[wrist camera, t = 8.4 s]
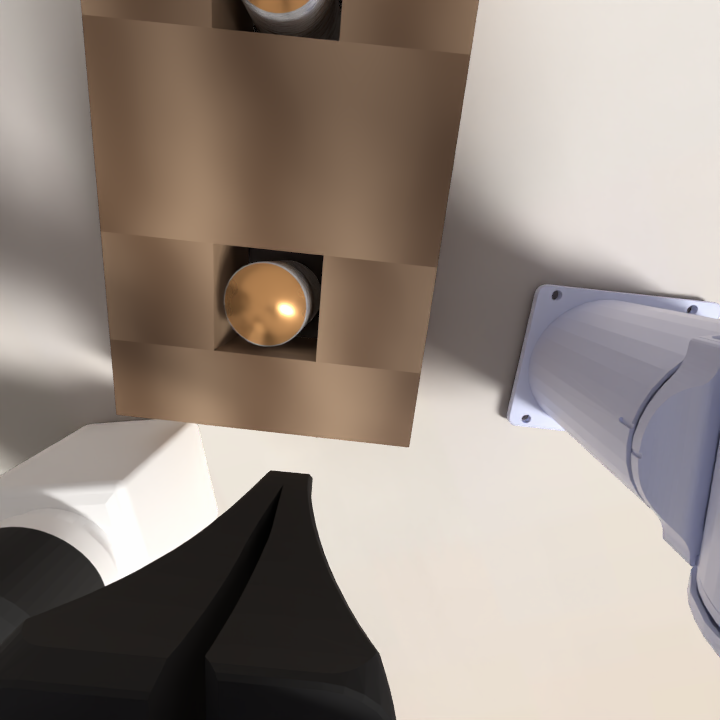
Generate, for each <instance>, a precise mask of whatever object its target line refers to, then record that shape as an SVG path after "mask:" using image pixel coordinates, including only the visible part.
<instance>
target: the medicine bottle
mask: <svg viewBox="0 0 720 720" xmlns="http://www.w3.org/2000/svg"><path fill="white" fill-rule="evenodd" d="M217 515H218V507H217V503H216V499H215V495H214V490H213V486H212V482H211V477H210V473H209V469H208V465H207V460H206V456H205V452H204V447H203V443H202V439H201V435H200V430H199V426H198V424H195V423H186V422H177V421H169V420H160V419H151V420H137V421H124V422H110V423H97V424H88V425H85V426H84V427H82V428H80V429H79V430H77V431H75V432H73V433H72V434H70V435H68V436H67V437H65V438H63V439H62V440H60V441H58V442H56V443H55V444H53V445H51V446H50V447H48V448H46V449H45V450H43V451H41V452H40V453H38V454H36V455H34V456H33V457H31V458H29V459H28V460H26V461H24V462H23V463H21V464H19V465H17V466H16V467H14V468H12V469H11V470H9V471H7V472H6V473H4V474H2V475H1V476H0V644H1V643H2V642H3V641H4V640H5V639H6V638H7V637H8V636H9V635H10V634H11V633H12V632H13V631H14V630H15V629H16V628H17V627H18V626H19V625H20V624H21V623H22V622H23V621H24V620H26V619H27V618H30V617H33V616H35V615H38V614H40V613H43V612H45V611H48V610H50V609H53V608H55V607H58V606H60V605H63V604H65V603H68V602H70V601H73V600H75V599H78V598H80V597H82V596H85V595H87V594H89V593H92V592H94V591H96V590H98V589H100V588H102V587H105V586H107V585H109V584H111V583H113V582H115V581H117V580H119V579H121V578H123V577H125V576H127V575H129V574H131V573H133V572H135V571H137V570H139V569H141V568H142V567H144V566H146V565H148V564H149V563H151V562H153V561H155V560H156V559H158V558H160V557H162V556H163V555H165V554H167V553H169V552H170V551H172V550H174V549H175V548H177V547H178V546H180V545H182V544H183V543H185V542H186V541H188V540H189V539H191V538H192V537H193V536H195V535H196V534H198V533H199V532H200V531H202V530H203V529H204V528H206V527H207V526H208V525H210V524H211V523H212V522H213V521H214V520H215V519H216V517H217Z"/></svg>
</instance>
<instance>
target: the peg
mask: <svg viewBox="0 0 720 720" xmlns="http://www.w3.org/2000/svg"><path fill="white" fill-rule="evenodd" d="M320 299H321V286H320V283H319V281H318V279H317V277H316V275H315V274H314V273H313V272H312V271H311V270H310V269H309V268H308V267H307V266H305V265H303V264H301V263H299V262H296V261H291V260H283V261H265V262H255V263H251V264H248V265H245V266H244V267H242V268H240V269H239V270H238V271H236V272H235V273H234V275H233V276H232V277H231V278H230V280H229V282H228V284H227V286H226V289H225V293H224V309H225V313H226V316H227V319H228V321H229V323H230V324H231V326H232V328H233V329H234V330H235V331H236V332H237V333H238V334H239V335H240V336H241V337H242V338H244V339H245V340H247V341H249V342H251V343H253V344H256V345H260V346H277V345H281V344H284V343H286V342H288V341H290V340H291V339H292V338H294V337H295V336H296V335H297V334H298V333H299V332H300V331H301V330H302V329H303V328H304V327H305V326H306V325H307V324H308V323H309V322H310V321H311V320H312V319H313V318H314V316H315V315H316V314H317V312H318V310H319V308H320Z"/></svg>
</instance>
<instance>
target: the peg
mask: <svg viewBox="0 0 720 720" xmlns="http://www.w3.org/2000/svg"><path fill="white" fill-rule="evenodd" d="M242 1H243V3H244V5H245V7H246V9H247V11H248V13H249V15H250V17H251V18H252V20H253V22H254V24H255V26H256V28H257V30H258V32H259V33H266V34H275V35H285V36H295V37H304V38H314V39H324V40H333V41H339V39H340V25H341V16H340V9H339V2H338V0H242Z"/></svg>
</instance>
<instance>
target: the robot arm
mask: <svg viewBox="0 0 720 720" xmlns="http://www.w3.org/2000/svg"><path fill="white" fill-rule="evenodd" d="M554 291H558V293H559V295H558V297H557V298H556V299H555V300H553V299H552V294H553V292H554ZM690 306H691V307H692V308H691V311H690V312H689V313H687V309H688V308H689V307H690ZM719 317H720V305H719V304H718V303H715V302H707V301H698V300H689V299H679V298H670V297H661V296H652V295H642V294H633V293H624V292H614V291H605V290H596V289H587V288H577V287H568V286H559V285H550V284H543V285H541V286H539V287H538V288H537V289H536V292H535V295H534V299H533V303H532V308H531V312H530V316H529V321H528V325H527V329H526V334H525V338H524V342H523V346H522V351H521V355H520V359H519V364H518V368H517V372H516V377H515V381H514V385H513V390H512V394H511V398H510V402H509V407H508V411H507V419H508V421H509V422H510V423H511V424H512V425H515V426H524V427H533V428H542V429H551V430H560V431H566V432H568V433H569V434H570V435H571V436H572V437H573V438H574V439H575V440H576V441H577V442H578V443H580V444H581V445H582V446H583V447H584V448H585V449H586V450H587V451H588V452H589V453H590V454H592V455H593V456H594V457H595V458H596V459H597V460H598V461H599V462H600V463H601V464H602V465H604V466H605V467H606V468H607V469H608V470H609V471H610V472H611V473H612V474H613V475H614V476H615V477H617V478H618V479H619V480H620V481H621V482H622V483H623V484H624V485H625V486H626V487H627V488H629V489H630V490H631V491H632V492H633V493H634V494H635V495H636V496H637V497H638V498H639V499H641V500H642V501H643V502H644V503H645V504H646V505H647V506H648V507H649V508H651V509H652V510H653V511H654V513H655V514H656V515H657V516H658V517H659V519H660V521H661V523H662V527H663V539H664V540H665V541H666V542H667V543H668V544H669V545H670V546H671V547H672V548H673V549H674V550H675V551H676V552H677V553H678V554H679V555H680V556H681V557H682V558H683V559H684V560H685V561H686V562H687V563H689V564H690V565H691V566H694V567H693V568H692V569H691V573H690V578H689V583H688V588H687V592H688V602H689V606H690V609H691V612H692V614H693V617H694V620H695V622H696V623H697V625H698V627H699V629H700V631H701V632H702V634H703V636H704V637H705V639H706V640H707V641H708V643H709V644H710V645H711V647H712V648H713V650H714V651H715V652H716V654H717V655H718V656H719V657H720V319H719ZM524 415H528V418H527V419H526V420H522V417H523V416H524ZM312 480H313V478H312V477H311V476H310V474H301V473H291V472H281V471H270V472H268V473H267V474H266V475H265V476H264V477H263V478H262V479H261V480H260V481H259V482H258V483H257V484H256V485H255V486H254V487H253V488H252V489H250V490H249V491H248V492H247V493H246V494H245V495H244V496H243V497H242V498H241V499H240V500H238V501H237V502H236V503H235V504H234V505H233V506H232V507H231V508H229V509H228V510H227V511H226V512H225V513H223V514H222V515H221V516H220V517H218V518H217V519H216V520H215V521H213V522H212V523H211V524H210V525H208V526H207V527H206V528H204V529H203V530H202V531H200V532H199V533H198V534H196V535H195V536H193V537H192V538H191V539H189V540H188V541H186V542H185V543H183V544H182V545H180V546H178V547H177V548H175V549H174V550H172V551H170V552H169V553H167V554H165V555H163V556H162V557H160V558H158V559H156V560H155V561H153V562H151V563H149V564H148V565H146V566H144V567H142V568H141V569H139V570H137V571H135V572H133V573H131V574H129V575H127V576H125V577H123V578H121V579H119V580H117V581H115V582H113V583H111V584H109V585H107V586H105V587H102V588H100V589H98V590H96V591H94V592H92V593H89V594H87V595H85V596H82V597H80V598H78V599H75V600H73V601H70V602H68V603H65V604H63V605H60V606H58V607H55V608H53V609H50V610H48V611H45V612H43V613H40V614H38V615H35V616H33V617H30V618H27V619H26V620H24V621H23V622H22V623H21V624H20V625H19V626H18V627H17V628H16V629H15V630H14V631H13V632H12V633H11V634H10V635H9V636H8V637H7V638H6V639H5V640H4V641H3V642H2V643H1V644H0V720H396V716H395V710H394V705H393V700H392V696H391V692H390V688H389V684H388V681H387V677H386V674H385V670H384V667H383V664H382V660H381V657H380V654H379V652H378V651H377V650H376V648H375V647H374V645H373V644H372V643H371V641H370V640H369V638H368V637H367V635H366V634H365V632H364V631H363V629H362V628H361V626H360V625H359V623H358V621H357V620H356V618H355V616H354V615H353V613H352V611H351V610H350V608H349V606H348V604H347V602H346V600H345V598H344V596H343V594H342V593H341V591H340V589H339V587H338V585H337V583H336V581H335V579H334V576H333V574H332V572H331V569H330V567H329V564H328V562H327V559H326V557H325V554H324V551H323V548H322V545H321V542H320V538H319V535H318V531H317V527H316V523H315V518H314V513H313V508H312V500H311V492H312Z"/></svg>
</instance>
